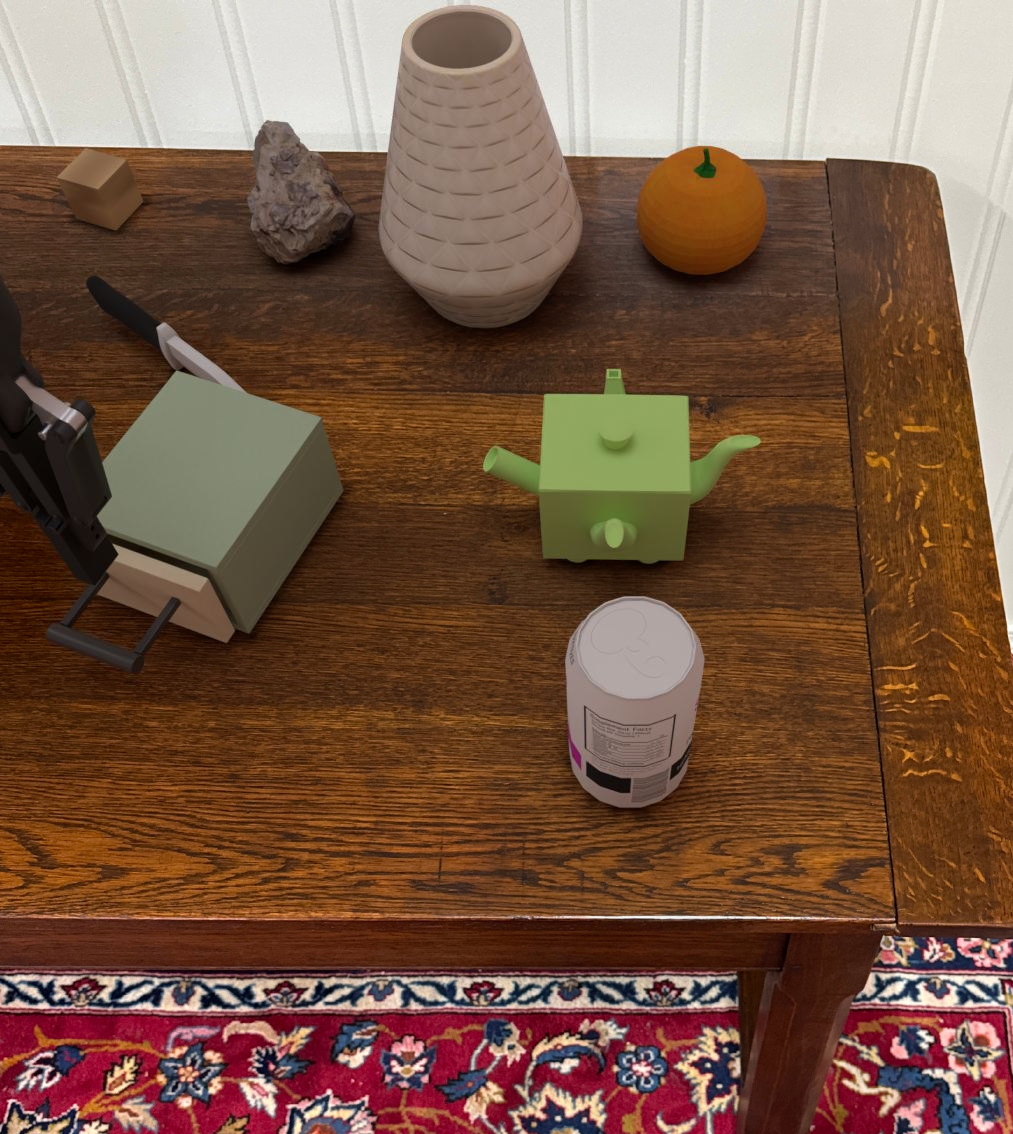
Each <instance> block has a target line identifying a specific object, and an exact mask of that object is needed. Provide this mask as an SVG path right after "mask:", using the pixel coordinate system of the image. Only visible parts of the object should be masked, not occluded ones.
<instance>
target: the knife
mask: <svg viewBox="0 0 1013 1134" xmlns="http://www.w3.org/2000/svg"><path fill="white" fill-rule="evenodd" d="M85 285H86V287H87V289H88V291H89V293H90V295H91V296H92V298H93V299H94V301H95V302H96V303H97V305H98V307H100V309H101V310H102V311H103V312H105V313H106V314H107V315H109V316H111V317H112V318H114V319H115V320H117V322H119V323H121V324H122V325H124V326H125V327H126V328H127V329H128V330H130V331H131V332H133V333H134V334H135V335H136V336H138V337H139V338H141V339H142V340H143V341H145V342H146V343H148V344H149V345H151V346H152V347H153V348H154V349H156V350H157V351H159V352H160V353H161V354H162V355H163V356H164V358H165V360H166V361H167V362H168V364H169V365H170V366H171V367H172V369H174V370H175V371H180V370H181V369H183V368H185V369H186V370H188V371H189V372H190V373H192V374H194V376H195V377H198V378H202V379H205V380H208V381H211V382H214V383H217V384H220V385H223V386H226V387H229V388H233V389H236V390H239V391H242V392H245V393H247V392H246V391H245V390H244V389H243V388H242V387H241V386H240V385H239V384H238V383H237V382H236V381H235V380H234V379H233V378H232V377H231V376H230V375H229V374H228V373H226V372H225V371H224V370H223V369H222V368H220V367H219V366H218V365H217V364H215V362H213V361H211V360H210V359H209V358H207V357H206V356H204V355H203V354H202V353H200V352H199V351H198V350H197V349H195V348H194V347H192V345H190V344H189V343H187V342H186V341H184V340H183V339H182V338H181V337H180V335H179V334H178V333H177V332H176V331H175V330H174V329H173V327H171V325H170V324H167V322H162V323H160V322H159V321H158V320H157V319H156V318H155V317H153V316H152V315H151V314H150V313H148V312H147V311H145V310H144V309H143V308H142V307H141V306H139V305H138V304H136V303H135V302H134V301H132V300H131V299H130V298H129V297H127V296H126V295H125V294H123V293H122V292H120V291H119V290H117V289H116V288H114V287H113V286H111V285H110V284H109V283H108V282H106V281H105V280H104V279H103V278H101V277H100V276H98V275H90V276H89V277H87V279H86V281H85Z"/></svg>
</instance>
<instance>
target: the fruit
mask: <svg viewBox="0 0 1013 1134" xmlns="http://www.w3.org/2000/svg"><path fill="white" fill-rule="evenodd" d="M767 204H768V203H767V196H766V190H765V189H764V186H763V184H762V182H761V180H760V179H759V177H758V175H757V174H756V171H754V170H753V168H752V167H751V166H750V165H749V164H748V163H746V162H745V161H744V160H743V159H742V158H741V157H740V156H739V155H737V154H735V153H733V152H731V151H729V150H727V149H725V148H722V147H717V146H713V145H695V146H690V147H686V148H684V149H681V150H679V151H676V152H675V153H672V154H671V155H669V156H667V157H666V158H665V159H663V160H662V161H661V162H660V163H659V164H657V165H656V166H655V167H654V168H653V169H652V170H651V171H650V173H649V174H648V176H647V178H645V181H644V182H643V185H642V186H641V189H640V191H639V194H638V197H637V204H636V226H637V227H636V228H637V230H638V234H639V236H640V238H641V240H642V242H643V245H644V247H645V248H646V250H647V251H648V253H650V254H651V255H652V256H653V257H654V259H656V260H657V261H658V262H659V263H661V264H662V265H664V266H665V267H668V268H670V269H672V270H673V271H675V272H680V273H683V274H687V275H692V276H693V275H694V276H695V275H698V276H709V275H714V274H718V273H724V272H726V271H728V270H730V269H732V268H734V267H736V266H738V265H740V264H742V263H743V262H744V261H745V260H746V259H747V258H748V257H749V256H750V255H751V254H752V253H754V251H755V250H756V249H757V247H758V245H759V243H760V241H761V239H762V236H763V234H764V232H765V229H766V226H767V223H768V221H767V220H768V205H767Z"/></svg>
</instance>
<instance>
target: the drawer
mask: <svg viewBox="0 0 1013 1134" xmlns="http://www.w3.org/2000/svg"><path fill="white" fill-rule="evenodd" d="M106 534H107V536H108V538H109V539H110V541H111V543H112V544H113V546H114V547H115V549H116V551H117V552H118V554H119V555H118V556H117V558H116V559H115V560H114V562H113V563H112V564H111V565H110V567H109V568H108V569H107V571H106V572H105V573H104V575H103V576H102V577H101V579H100V580H99V581H98V583H97V584H96V585H95V586H94V585H92V584H89V583H88V585H87V586H86V588H85V589H84V590H83V592H82V593H81V594H80V596H79V597H78V598H77V600H76V601H75V602H74V603H73V604H72V606H71V607H70V609H69V610H68V611H67V612H66V614H65V615H64V617H63V618H62V619H61V620H60V622H53V623H52V624H50V625H49V626H48V628H47V629H46V633H45V638H46V640H47V642H49V643H52V644H55V645H58V646H60V647H62V648H65V649H67V650H70V651H72V652H76V653H78V654H80V655H83V656H86V657H88V658H91V659H94V660H95V661H99V662H102V663H104V664H107V665H109V666H112V667H114V668H117V669H119V670H122V671H124V672H127V673H129V674H132V675H137V674H139V673H140V672H141V671H142V670H143V668H144V666H145V662H146V659H145V656H146V655H147V653H148V652H149V650H150V649H151V647H152V645H153V644H154V643H155V642H156V640H157V639H158V637H159V636H160V635H161V633H162V632H163V630H164V629H165V627H166V626H167V624H168V623H172V624H175V625H176V626H177V625H178V626H180V627H183V628H185V629H188V630H191V631H193V632H195V633H198V634H201V635H204V636H207V637H209V638H212V639H214V640H218V641H220V642H222V643H225V644H227V643H228V642H229V641H230V639H231V638H232V636H233V635H234V633H235V632H236V629H235V628H233V626H232V624H231V622H230V620H229V618H228V616H227V614H226V612H225V610H224V608H223V607H225V608H228V609H229V607H228V605H227V603H226V601H225V599H224V597H223V595H222V593H221V591H220V589H219V587H218V585H217V583H216V581H215V579H214V577H213V575H212V574H211V572H210V570H207V569H204V568H201V567H199V566H196V565H193V564H190V563H188V562H185V561H182V560H179V559H177V558H174V557H171V556H168V555H166V554H163V553H160V552H157V551H154V550H152V549H149V548H146V547H143V546H141V545H138V544H135V543H132V542H130V541H127V540H124V539H121V538H119V537H116V536H113V535H110V534H108V533H106ZM97 595H98V596H100V597H102V598H106V599H108V600H110V601H113V602H115V603H119V604H122V605H124V606H127V607H129V608H131V609H134V610H137V611H140V612H141V613H145V614H148V615H151V616H153V617H156V618H155V620H154V621H153V623H152V624H151V625H150V627H149V628H148V630H147V631H146V633H145V634H144V635H143V636H142V638H141V639H140V640H139V642H138V643H137V645H136V646H135V648H134V649H133V651H132V650H130V649H127V648H125V647H122V646H119V645H117V644H114V643H112V642H109V641H106V640H104V639H101V638H99V637H96V636H93V635H91V634H88V633H85V632H83V631H82V630H78V629H75V628H73V626H74V625H75V624H76V622H77V621H78V620H79V619H80V618H81V616H82V614H83V613H84V612H85V611H86V609H87V608H88V606H89V605H90V604H91V602H92V601H93V600H94V599H95V597H96V596H97Z"/></svg>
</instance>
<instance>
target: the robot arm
mask: <svg viewBox="0 0 1013 1134" xmlns="http://www.w3.org/2000/svg"><path fill="white" fill-rule="evenodd" d="M21 313H22V312H21V311H20V307H19V305H18V303H17V302H16V300H15V298H14V297H13V295H12V293H11V291H10V290H9V288H8V286H7V285H6V283H5V281H4V279H3V277H2V275H1V274H0V498H3V496H5V494H7V495H8V496H9V498H10V499H11V501H12V502H13V503H14V505H15V506H16V508H18V509H19V510H21V511H23V512H25V513H29V514H30V515H31V517H32V518H33V520H34V521H35V523H37V525H38V526H39V528H40V529H41V530H42V532H43V533H44V535H45V536H46V538H47V539H48V541H49V542H50V544H51V545H52V546H53V548H54V549H55V551H56V552H57V554H58V556H60V558H61V559H62V561H63V562H64V564H66V566H67V568H68V570H69V571H70V572H71V574H72V575H73V576H74V578H75V579H76V580H78V581H80V582H84V583H86V584H88V585H89V584H92V585H94V586H95V585H96V584H97V583H98V581H99V580H100V579H101V577H102V576H103V575H104V573H105V572H106V571H107V569H108V568H109V567H110V565H111V564H112V563H113V562H114V560H115V559H116V558H117V556H118V555H119V554H118V552H117V551H116V549H115V547H114V546H113V544H112V543H111V541H110V539H109V538H108V536H107V534H106V530H105V529H104V527H103V526H102V524H101V522H100V521H99V519H98V517H97V515H98V514H99V513H100V512H101V510H102V509H103V508H104V506H105V505H106V504H107V503H108V501H109V500H110V499H111V498H112V494H111V491H110V487H109V484H108V481H107V477H106V474H105V470H104V467H103V464H102V462H103V461H102V460H103V459H102V458H101V454H100V451H99V448H98V447H99V446H98V444H97V441H96V437H95V433H94V430H93V427H92V426H93V423H94V421H95V419H96V418H95V417H96V415H97V412H96V409H95V407H94V406H93V405H92V404H91V403H89V401H87V400H86V399H83V398H80V397H77V398H75V399H74V400H73V402H72V403H70V402H69V401H64V402H63V401H62V400H60V399H59V398H57V397H56V396H54V395H53V394H52V393H50V392H48V391H47V390H46V382H45V379H44V377H43V375H42V374H41V373H40V371H38V370H37V369H36V367H34V366H33V364H32V363H30V361H29V360H27V358H26V357H25V356H24V355H23V353H22V330H23V329H22V328H23V327H22V326H23V324H22V323H23V320H22V314H21Z"/></svg>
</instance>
